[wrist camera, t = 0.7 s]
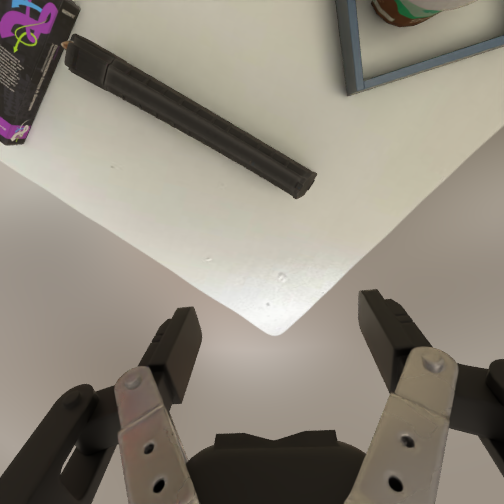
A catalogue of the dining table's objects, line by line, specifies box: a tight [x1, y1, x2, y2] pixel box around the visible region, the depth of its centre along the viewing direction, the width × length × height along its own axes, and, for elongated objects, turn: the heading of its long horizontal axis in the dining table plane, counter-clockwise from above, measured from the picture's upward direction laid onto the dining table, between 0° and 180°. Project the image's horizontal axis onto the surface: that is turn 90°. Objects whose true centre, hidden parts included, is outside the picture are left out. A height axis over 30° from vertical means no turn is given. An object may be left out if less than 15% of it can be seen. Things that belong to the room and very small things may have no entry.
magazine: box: [61, 34, 317, 199], centre depth 30 cm, size 17×3×30 cm
